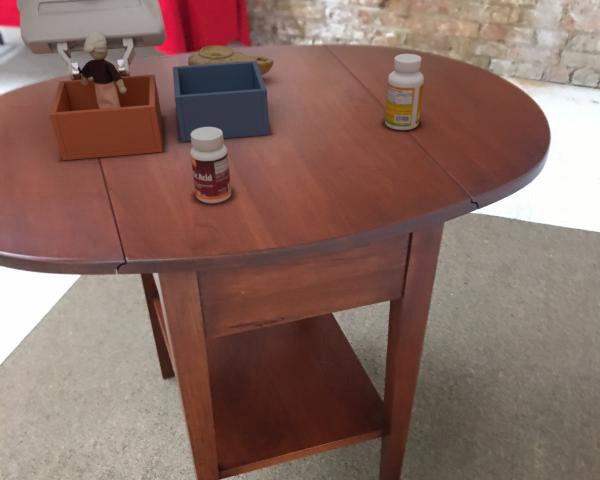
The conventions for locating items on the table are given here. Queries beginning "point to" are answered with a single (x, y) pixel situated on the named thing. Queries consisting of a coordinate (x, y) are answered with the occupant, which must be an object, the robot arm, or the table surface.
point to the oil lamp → (227, 58)
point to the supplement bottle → (404, 93)
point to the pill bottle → (210, 165)
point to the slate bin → (221, 99)
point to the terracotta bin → (107, 120)
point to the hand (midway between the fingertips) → (100, 76)
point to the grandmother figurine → (102, 72)
